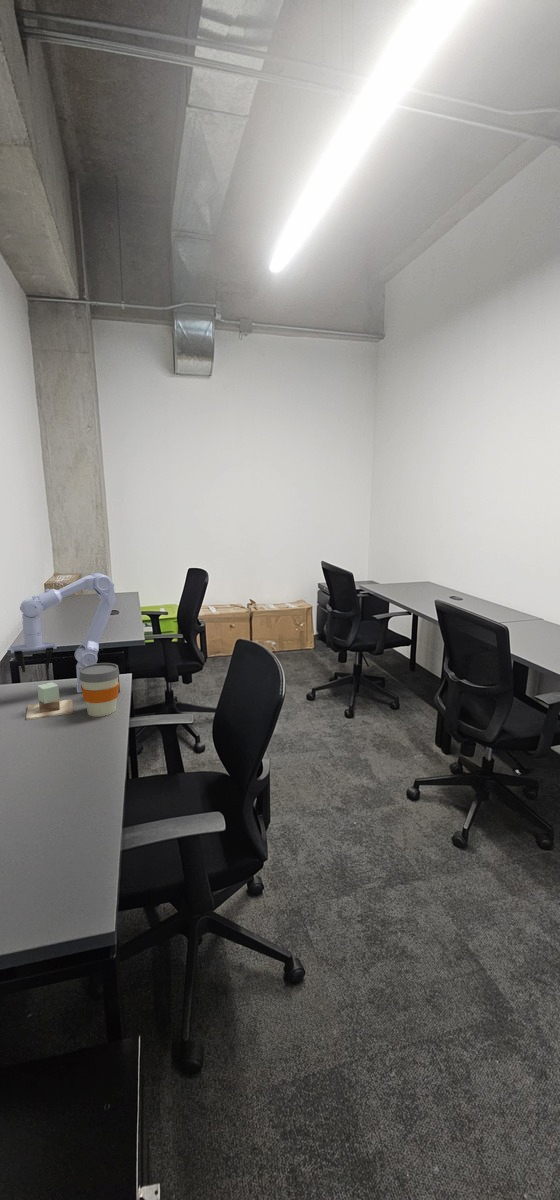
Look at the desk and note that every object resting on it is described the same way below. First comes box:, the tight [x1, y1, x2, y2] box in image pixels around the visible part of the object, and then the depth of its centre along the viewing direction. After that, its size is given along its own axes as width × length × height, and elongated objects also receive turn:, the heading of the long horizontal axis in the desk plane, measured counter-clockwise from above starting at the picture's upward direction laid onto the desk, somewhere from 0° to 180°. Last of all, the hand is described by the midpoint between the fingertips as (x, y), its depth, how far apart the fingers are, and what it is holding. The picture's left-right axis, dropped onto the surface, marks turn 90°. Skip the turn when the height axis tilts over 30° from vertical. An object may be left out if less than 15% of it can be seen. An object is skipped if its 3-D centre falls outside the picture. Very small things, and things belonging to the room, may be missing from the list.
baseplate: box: [25, 698, 74, 721], centre depth 170 cm, size 14×12×4 cm
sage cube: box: [36, 681, 61, 704], centre depth 170 cm, size 5×5×5 cm
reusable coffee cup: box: [79, 662, 120, 717], centre depth 168 cm, size 13×13×15 cm
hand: (35, 670), depth 180 cm, fingers open, 7 cm apart
